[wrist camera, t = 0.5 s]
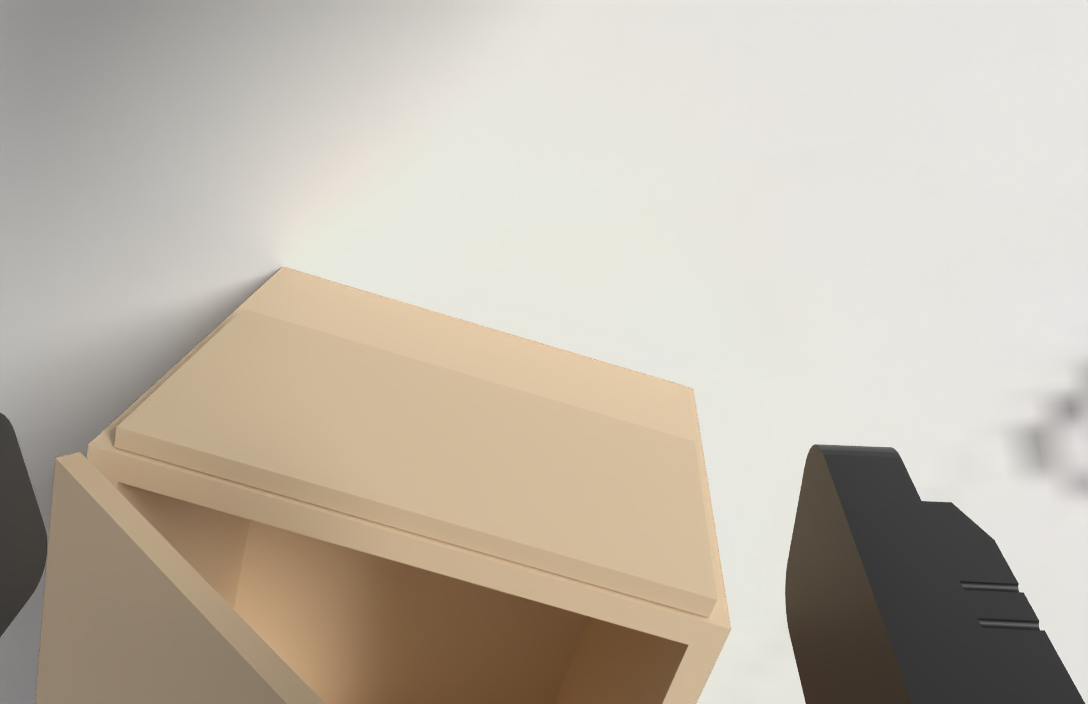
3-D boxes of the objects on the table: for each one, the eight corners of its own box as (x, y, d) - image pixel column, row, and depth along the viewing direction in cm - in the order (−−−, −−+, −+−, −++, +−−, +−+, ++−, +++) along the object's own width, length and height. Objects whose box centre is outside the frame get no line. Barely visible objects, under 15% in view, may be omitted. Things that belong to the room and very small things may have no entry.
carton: (285, 251, 30) (89, 422, 19) (698, 374, 31) (740, 608, 20) (206, 686, 38) (34, 988, 27) (539, 779, 38) (505, 1113, 27)
